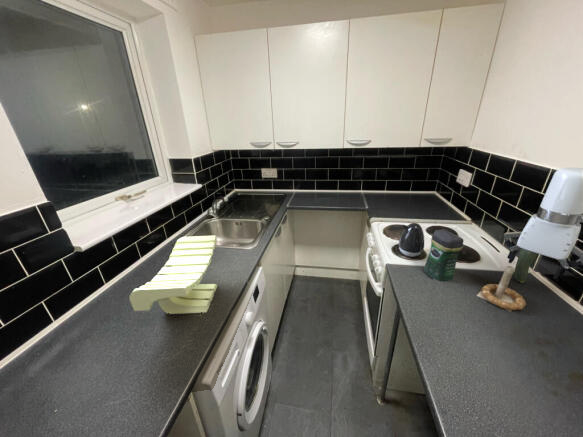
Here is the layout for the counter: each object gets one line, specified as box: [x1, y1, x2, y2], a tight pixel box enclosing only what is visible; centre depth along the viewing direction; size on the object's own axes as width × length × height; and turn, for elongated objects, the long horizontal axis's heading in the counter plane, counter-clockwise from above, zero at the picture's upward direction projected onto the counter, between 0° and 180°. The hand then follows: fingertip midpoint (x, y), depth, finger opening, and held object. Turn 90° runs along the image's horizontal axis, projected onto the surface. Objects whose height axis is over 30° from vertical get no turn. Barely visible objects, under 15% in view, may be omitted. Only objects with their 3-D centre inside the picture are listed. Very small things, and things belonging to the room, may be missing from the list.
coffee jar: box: [423, 228, 464, 282], centre depth 86 cm, size 10×8×19 cm
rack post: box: [476, 265, 516, 313], centre depth 74 cm, size 9×9×13 cm
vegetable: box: [513, 248, 539, 284], centre depth 81 cm, size 4×4×20 cm
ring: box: [480, 283, 527, 311], centre depth 75 cm, size 11×11×2 cm
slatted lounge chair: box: [129, 234, 218, 315], centre depth 80 cm, size 30×16×18 cm, turn 1°
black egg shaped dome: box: [397, 222, 425, 258], centre depth 101 cm, size 10×10×15 cm
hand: (532, 268), depth 68 cm, fingers open, 9 cm apart
